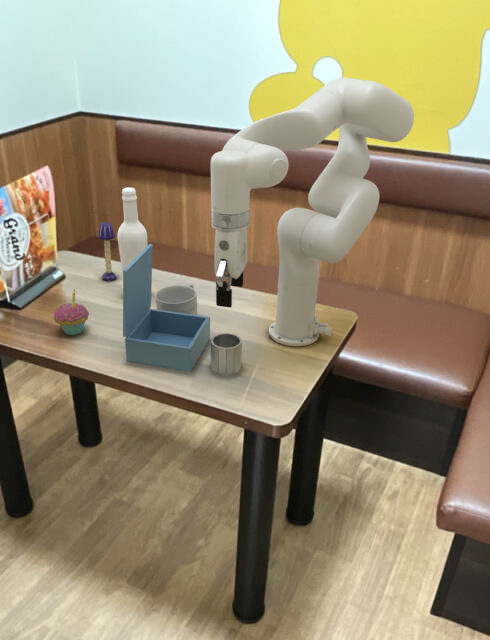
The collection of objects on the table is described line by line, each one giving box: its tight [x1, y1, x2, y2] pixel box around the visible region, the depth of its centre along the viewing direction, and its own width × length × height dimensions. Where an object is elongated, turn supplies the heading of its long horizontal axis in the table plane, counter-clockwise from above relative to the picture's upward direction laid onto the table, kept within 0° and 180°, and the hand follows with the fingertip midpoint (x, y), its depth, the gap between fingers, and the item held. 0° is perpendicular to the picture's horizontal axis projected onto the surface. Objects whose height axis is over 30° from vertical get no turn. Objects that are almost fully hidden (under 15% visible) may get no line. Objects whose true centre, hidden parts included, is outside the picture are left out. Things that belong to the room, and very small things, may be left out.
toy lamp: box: [98, 221, 118, 282], centre depth 176 cm, size 5×5×17 cm
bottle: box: [117, 186, 148, 295], centre depth 162 cm, size 8×8×30 cm
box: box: [124, 308, 211, 373], centre depth 144 cm, size 16×16×7 cm
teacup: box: [154, 282, 198, 315], centre depth 157 cm, size 14×11×8 cm
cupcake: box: [53, 288, 90, 336], centre depth 151 cm, size 9×8×12 cm
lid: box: [122, 243, 154, 338], centre depth 138 cm, size 16×16×1 cm
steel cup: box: [210, 332, 243, 375], centre depth 137 cm, size 7×7×8 cm
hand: (230, 295), depth 130 cm, fingers open, 9 cm apart
